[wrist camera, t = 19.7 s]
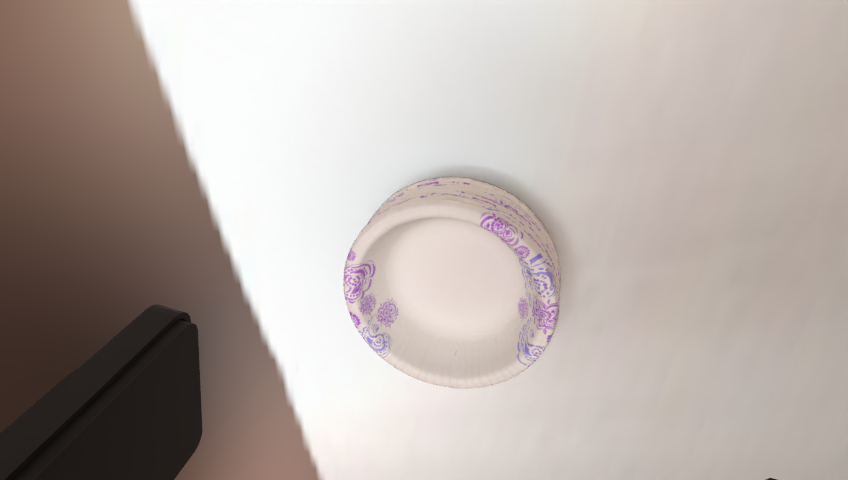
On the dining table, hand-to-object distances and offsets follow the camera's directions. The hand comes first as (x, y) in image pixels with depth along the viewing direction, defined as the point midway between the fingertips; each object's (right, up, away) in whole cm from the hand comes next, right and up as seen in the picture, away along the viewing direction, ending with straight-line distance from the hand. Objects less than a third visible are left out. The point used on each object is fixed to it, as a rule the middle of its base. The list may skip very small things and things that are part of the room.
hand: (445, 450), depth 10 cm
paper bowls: (+3, +3, +37) cm, 37 cm away
